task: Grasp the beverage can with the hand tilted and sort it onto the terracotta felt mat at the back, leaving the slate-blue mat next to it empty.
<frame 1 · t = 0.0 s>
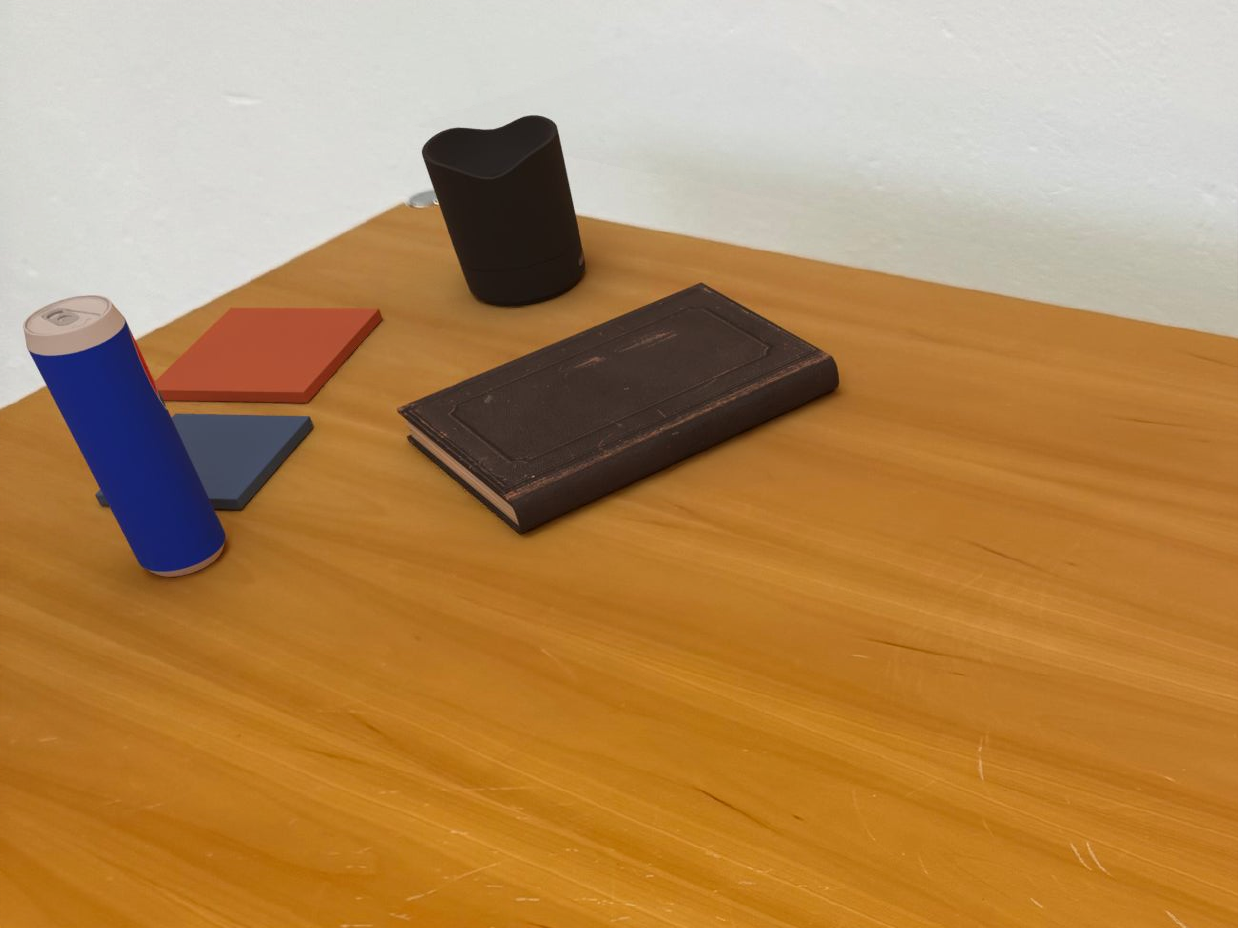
hardcover book: (624, 419, 104), on the table
beverage can: (187, 558, 97), on the table
pen holder: (529, 283, 119), on the table
terracotta mat: (269, 358, 114), on the table
blue mat: (209, 465, 104), on the table
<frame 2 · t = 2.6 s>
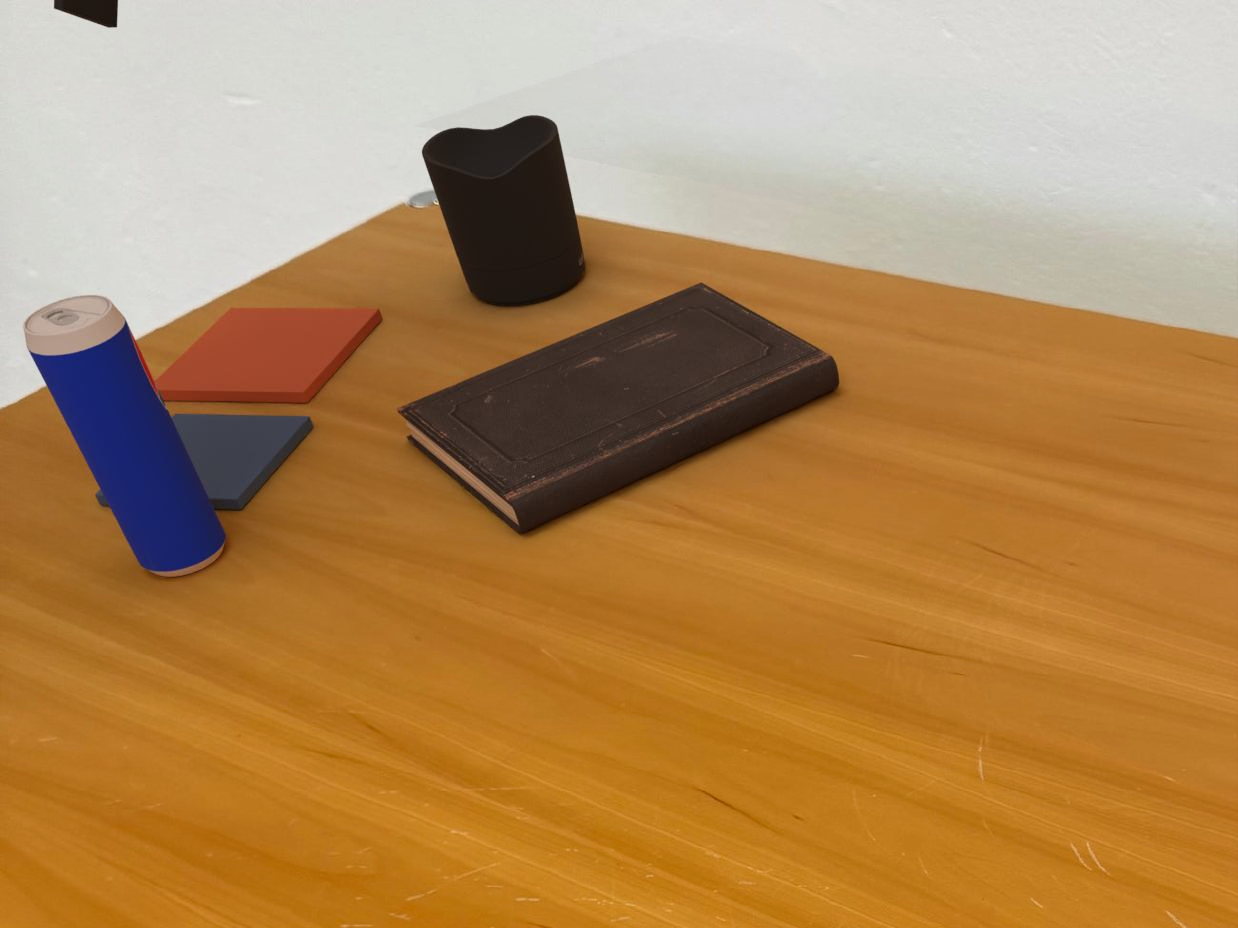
hand: (10, 20, 82), 27 cm above the table, tool tilted 35°, fingers open, 13 cm apart
nothing on the table moved.
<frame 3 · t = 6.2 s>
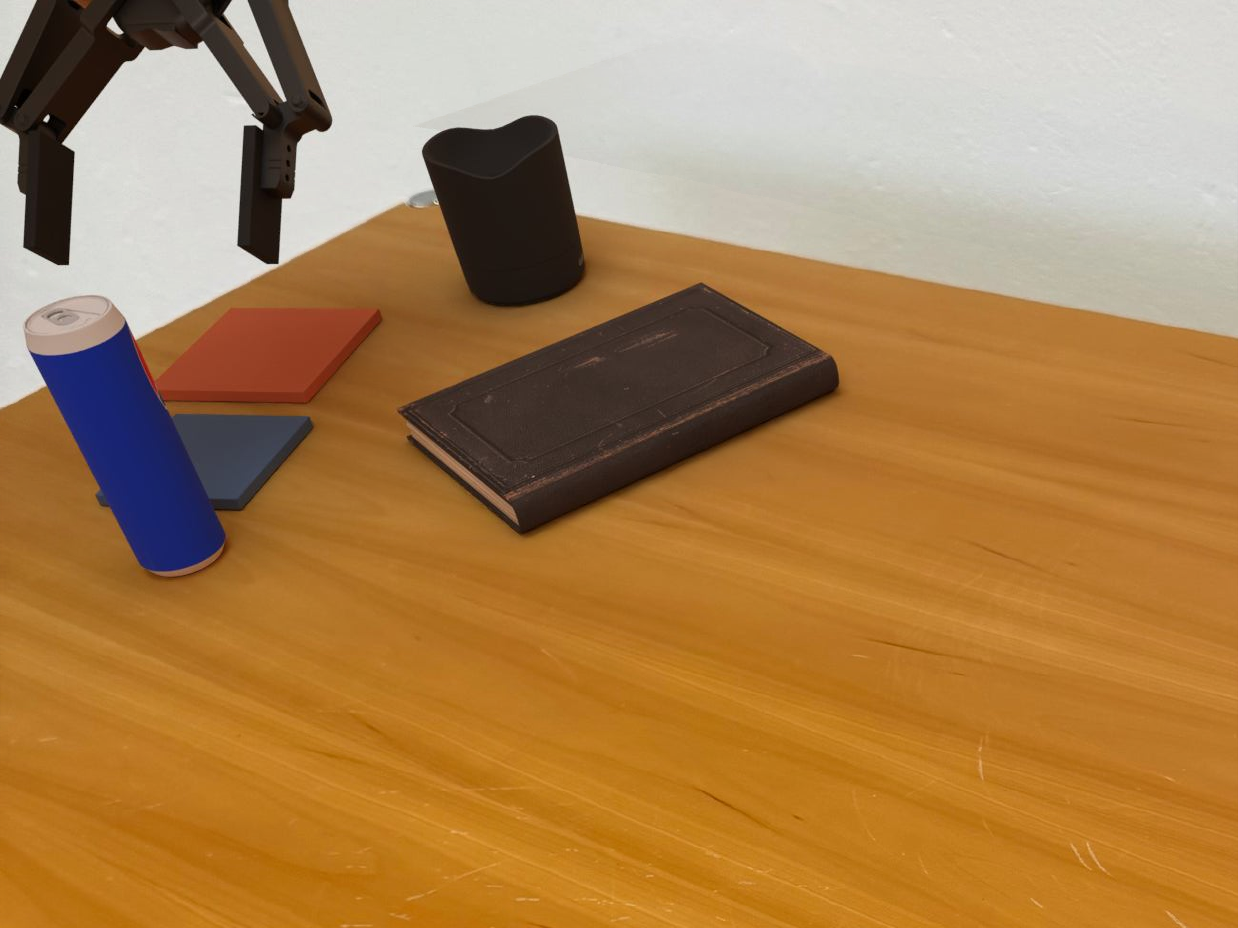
hand: (150, 256, 92), 15 cm above the table, tool tilted 45°, fingers open, 13 cm apart
nothing on the table moved.
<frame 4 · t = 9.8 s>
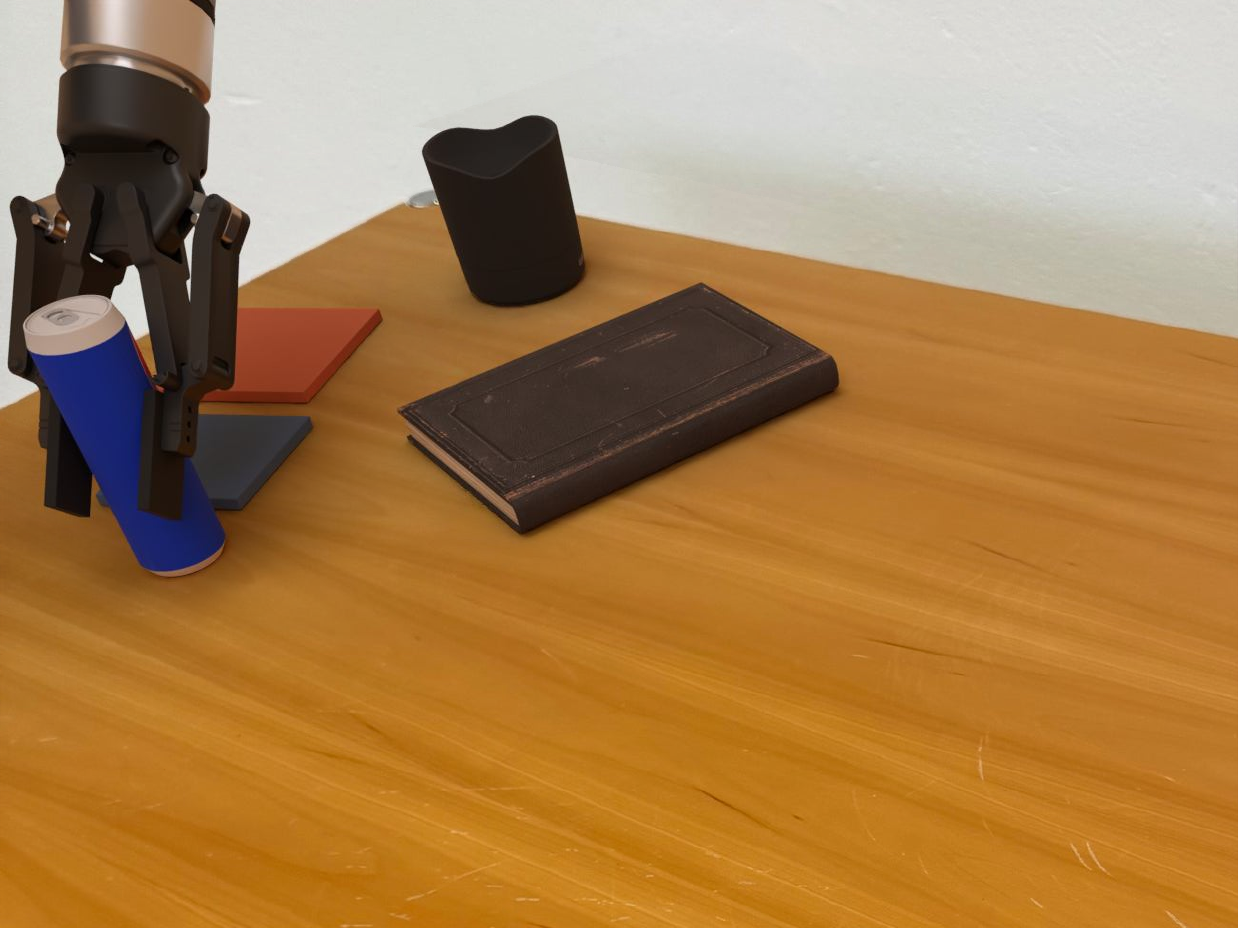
hand: (113, 512, 90), 5 cm above the table, tool tilted 45°, fingers closed on beverage can, 5 cm apart
beverage can: (187, 558, 97), on the table, touching gripper
everything else where it was.
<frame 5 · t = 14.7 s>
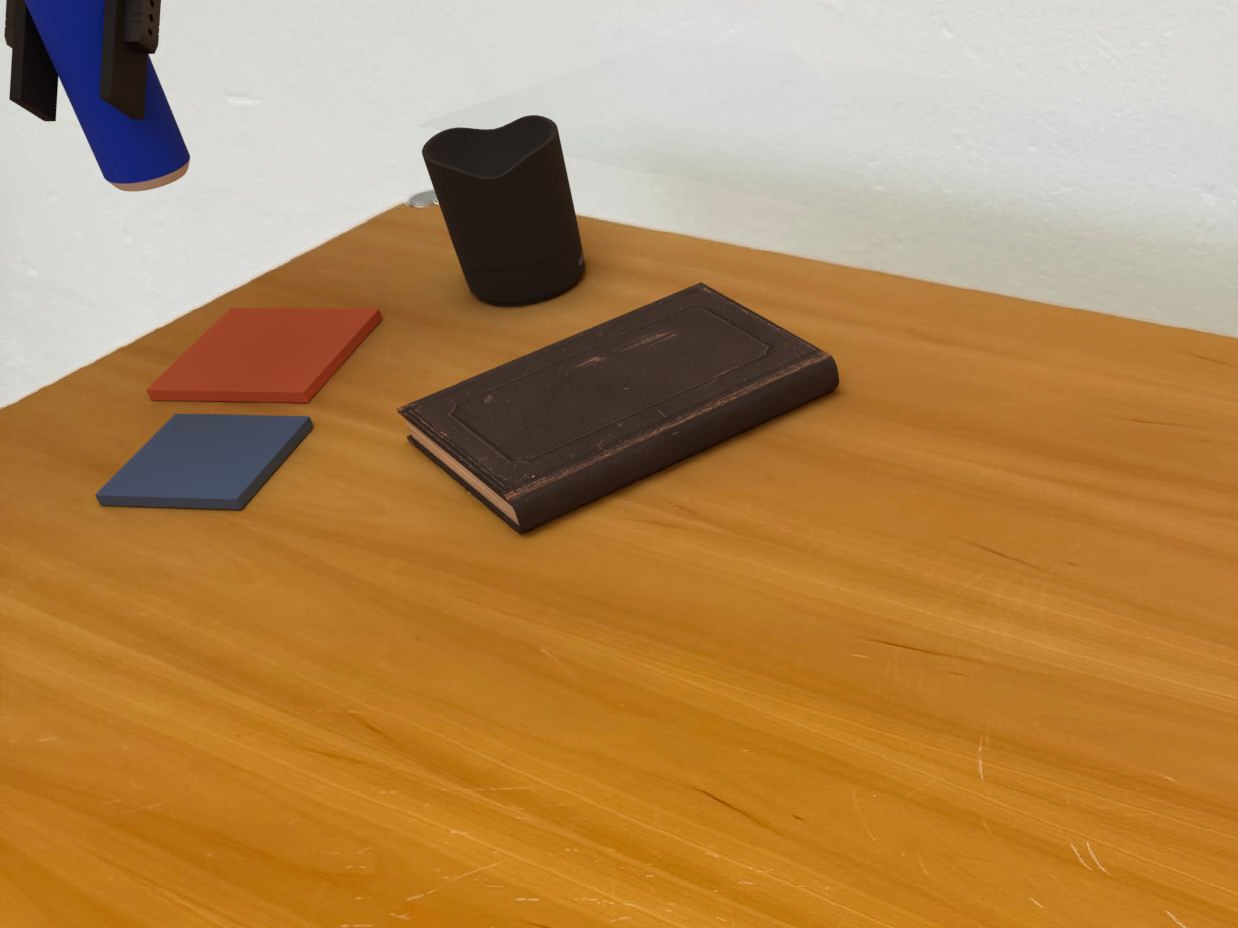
hand: (77, 108, 92), 20 cm above the table, tool tilted 45°, fingers closed on beverage can, 5 cm apart
beverage can: (153, 180, 99), point 15 cm above the table, touching gripper
everything else where it was.
when the fingers open (6 cm above the table, at t = 19.7 s): beverage can stays where it is, resting on terracotta mat.
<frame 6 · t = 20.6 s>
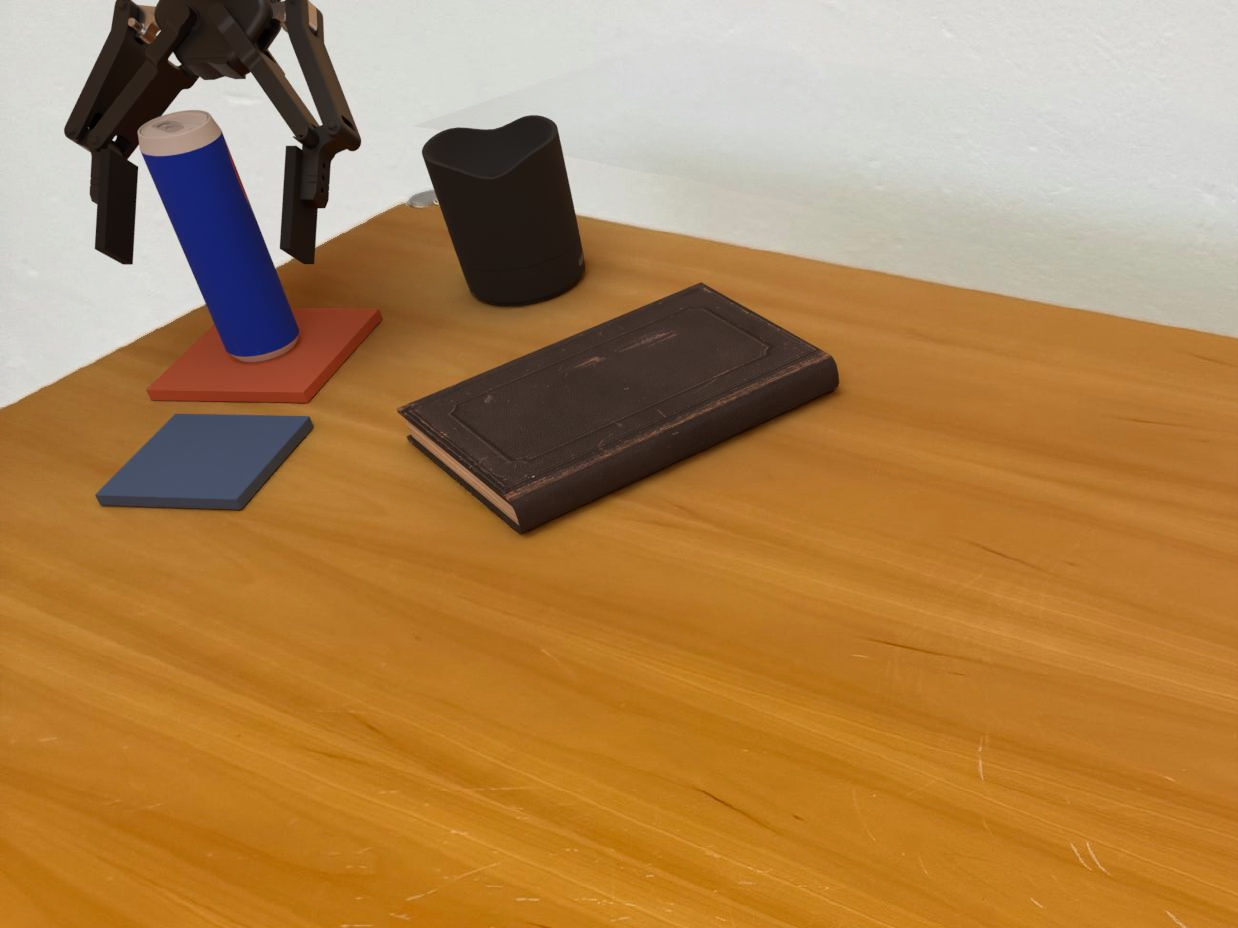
hand: (204, 257, 107), 8 cm above the table, tool tilted 45°, fingers open, 13 cm apart
beverage can: (266, 350, 114), point 1 cm above the table, touching terracotta mat
everything else where it was.
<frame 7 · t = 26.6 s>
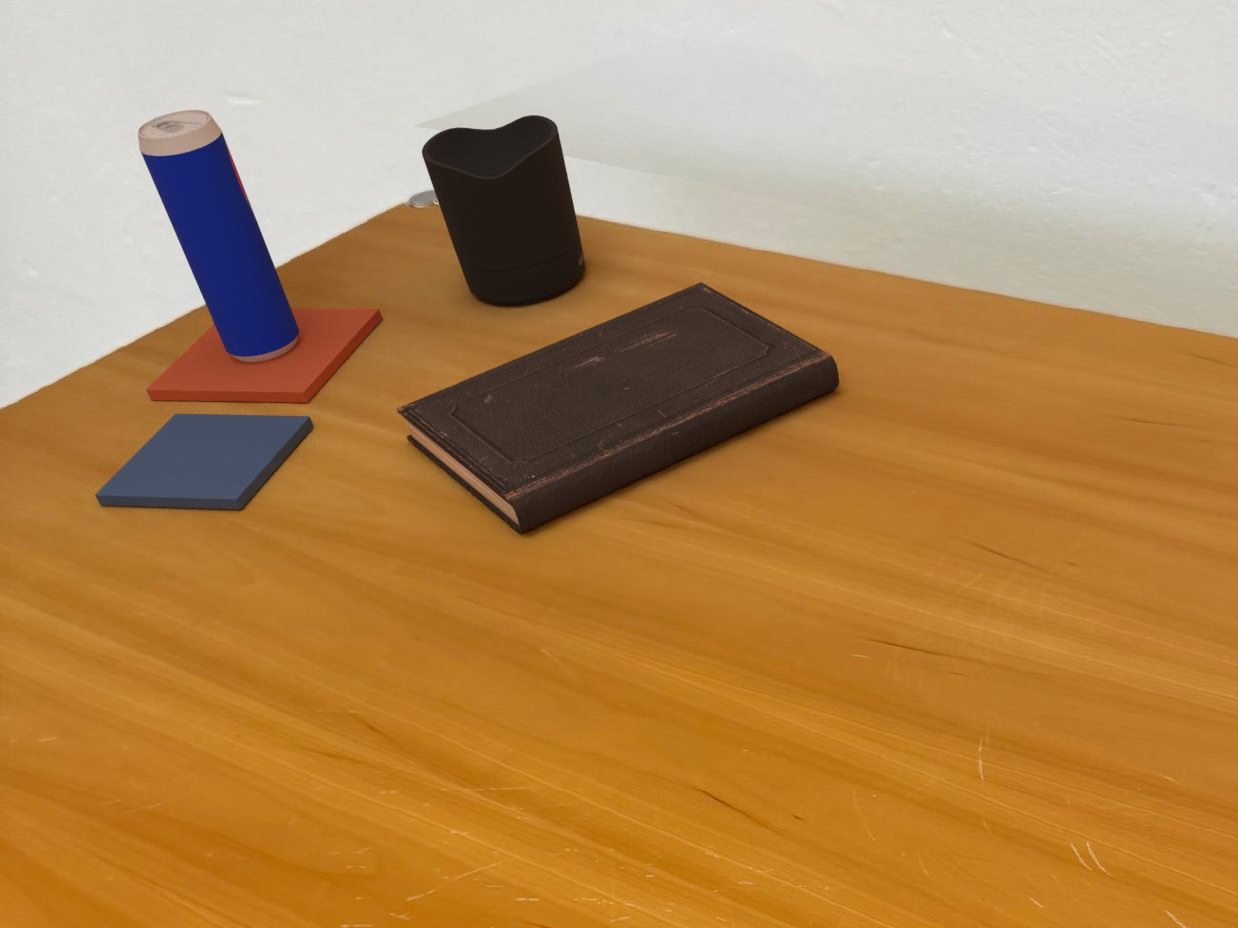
nothing on the table moved.
at the end: beverage can inside the target area on the terracotta mat (0.1 cm from its centre), point 0.6 cm above the terracotta mat's base; beverage can tilted 0°; beverage can touching terracotta mat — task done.
